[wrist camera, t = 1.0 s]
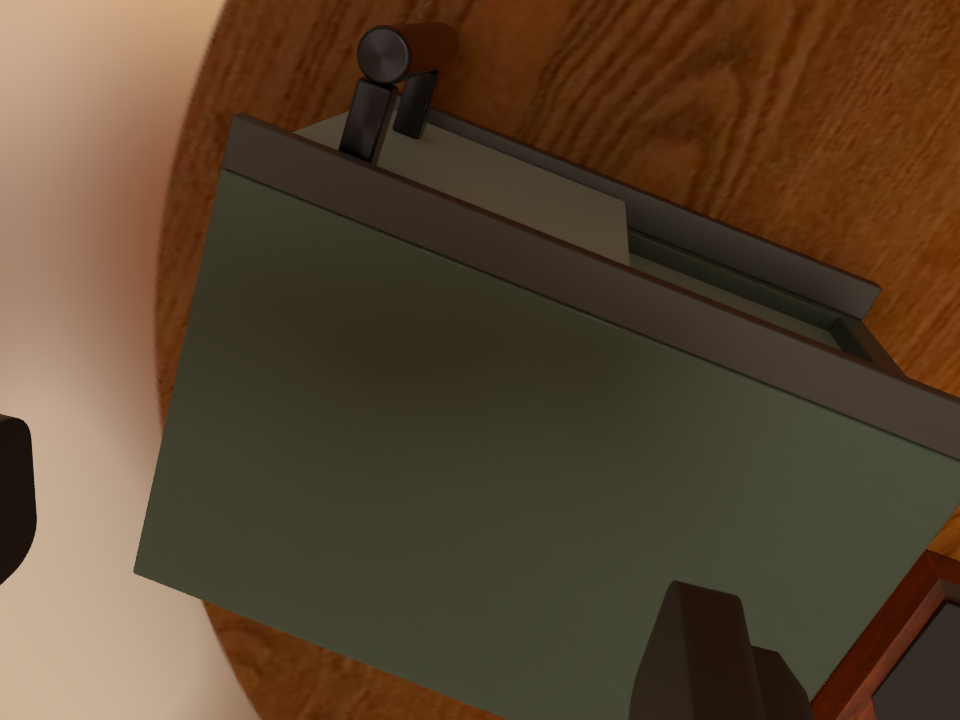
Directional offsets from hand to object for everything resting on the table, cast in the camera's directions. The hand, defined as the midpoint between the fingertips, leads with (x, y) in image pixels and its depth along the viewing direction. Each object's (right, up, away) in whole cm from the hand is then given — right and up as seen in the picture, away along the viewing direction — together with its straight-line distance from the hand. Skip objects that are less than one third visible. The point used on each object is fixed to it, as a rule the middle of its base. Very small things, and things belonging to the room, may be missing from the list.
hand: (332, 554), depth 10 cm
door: (+3, +10, +15) cm, 18 cm away
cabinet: (+4, +2, +19) cm, 20 cm away
